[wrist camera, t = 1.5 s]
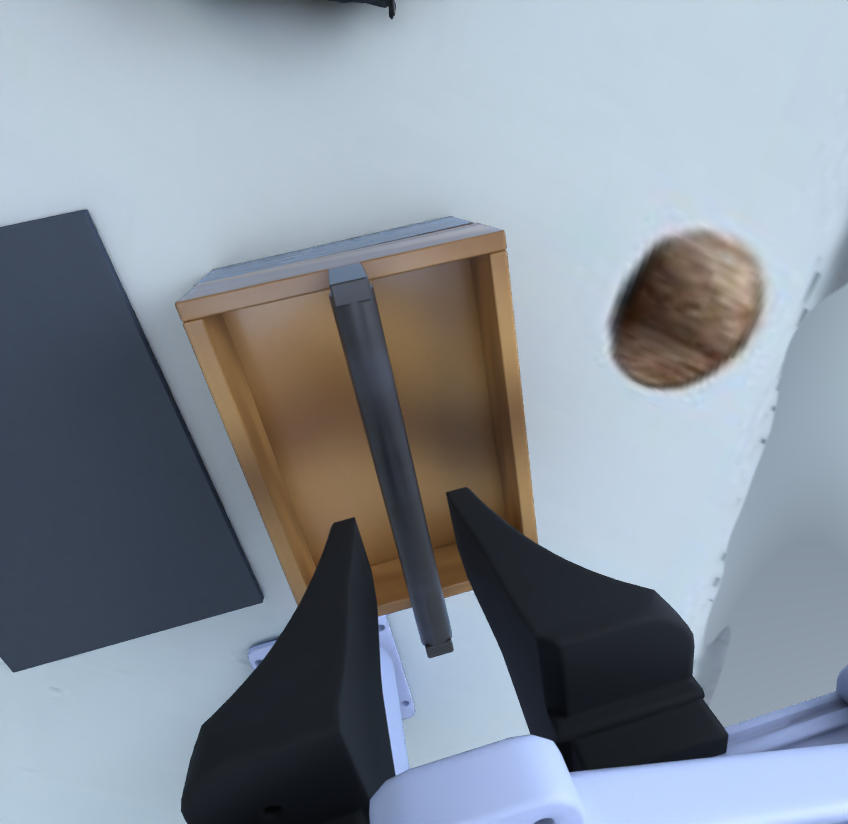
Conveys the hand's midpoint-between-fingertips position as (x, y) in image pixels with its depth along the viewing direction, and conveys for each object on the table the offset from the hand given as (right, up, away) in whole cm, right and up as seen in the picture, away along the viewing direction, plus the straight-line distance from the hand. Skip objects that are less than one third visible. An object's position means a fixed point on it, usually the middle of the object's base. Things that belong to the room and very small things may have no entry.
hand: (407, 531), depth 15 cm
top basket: (-1, +3, +6) cm, 7 cm away
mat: (-16, +1, +8) cm, 18 cm away
